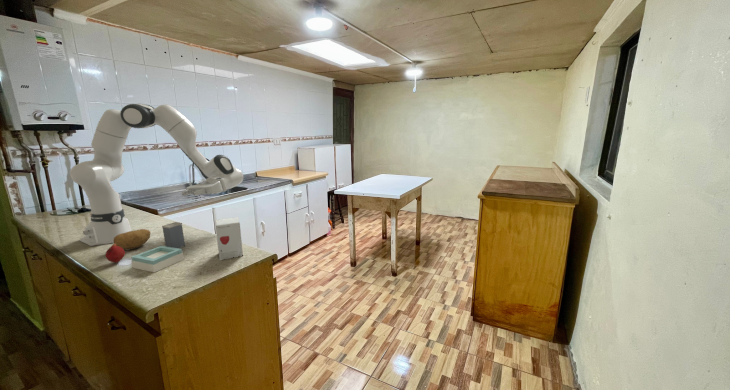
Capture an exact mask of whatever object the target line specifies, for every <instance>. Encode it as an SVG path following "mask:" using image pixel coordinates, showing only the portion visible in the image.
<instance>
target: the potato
mask: <svg viewBox="0 0 730 390" xmlns="http://www.w3.org/2000/svg"><path fill="white" fill-rule="evenodd" d="M150 238H151V231H150V230H149V229H145V228H139V229H136V230H135V229H134V230H131V231H129V232H126V233H122V234H119V235H117V236H116V237H114V240H113V241H114V243H113V244H116V246H119V247H121V248H123V249H124V250H135V249H137V248H140V247H142V246H143V245H145V244H146V243H147V242H148V240H150Z"/></svg>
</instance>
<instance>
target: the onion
mask: <svg viewBox="0 0 730 390" xmlns="http://www.w3.org/2000/svg"><path fill="white" fill-rule="evenodd" d="M125 255H126V251H125V249H123V248H121V247H119V246H116V244H114V243H112V244H111V246H110V247H109V248H107V250H106V252H105V258H106V260H107V261H109V262H111V263H116V264H118V263H119V262H121V260H122V259H123V258H124V257H125Z"/></svg>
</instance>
